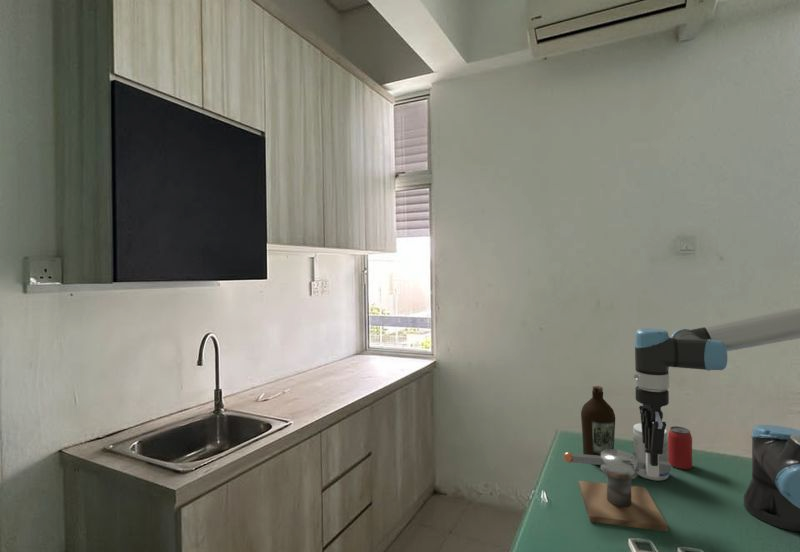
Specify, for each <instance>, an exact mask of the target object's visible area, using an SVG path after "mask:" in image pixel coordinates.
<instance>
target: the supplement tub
mask: <svg viewBox="0 0 800 552" xmlns="http://www.w3.org/2000/svg"><path fill="white" fill-rule="evenodd" d="M642 440H643V439H642V426H641V422H640V423H636V424H633V429H632V446H633V447H632V448H633V452H632V453H633V455H634V456H635V457H636V458H637V459H643V460H646V452H645V449H646V448H645V443H643V441H642ZM659 461H665V462H669V459H668V430H667V429H666V428H665V432H664V442H663V453H662V454H659ZM637 469H638V468H637ZM637 476H640V477H642V478H644V479H646V480H651V481H664V480H667V479H668V478H669V476H670V471H659V477H651V476H647V474H646V469H638V475H637Z"/></svg>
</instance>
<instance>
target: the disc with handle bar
mask: <svg viewBox="0 0 800 552" xmlns="http://www.w3.org/2000/svg"><path fill="white" fill-rule="evenodd" d="M562 459H563V460H564V462H566V463H568V464H571V463H576V464H586V465H595V466H597V465H598V466H600V470H601V471H602V472H603V473H604V474H606V476H607V475H609V476H612V477H615V478H619V479H631V480H633V479H636V478H637V477H638V476H639V475H638V469H646V460H643V459H637V458H636V457H635V456H634V454H632V453H630V452H627V451H625V450H622V449H621V450H620V449H615V448H614V449H608V450H604V451H602V452H601V456H598V455H586V454H583V453H574V452H573V453H572V452H568V451H566V452H564V453H563V456H562ZM637 468H638V469H637ZM659 471H669V473H670V472H672V465H671V464H670V463H669V462H665V461H659Z"/></svg>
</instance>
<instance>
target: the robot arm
mask: <svg viewBox="0 0 800 552" xmlns="http://www.w3.org/2000/svg"><path fill="white" fill-rule="evenodd" d="M798 339H800V306H799V307H793V308H789V309H784V310H780V311H779V310H778V311H775V312H769V313H766V314H761V315H755V316H751V317H746V318H742V319H741V318H740V319H737V320H732V321H731V320H730V321H727V322H723V323H717V324H713V325H707V326H703V327H698V328H693V329H689V328H688V329H687V328H681V329H677V330H676V331H674V332H673V333H672V334H671V335H669V332H668V331H667V330H665V329H662V328H650V327H648V328H640V329H637V331H636V332H635V342H634V356H635V357H634V363H635V374H632V375H633V378H634V379H635V385H636V386H635V400H636V402H637V403H640V404H642V405H639V407H638V409H639V414H640V423H641V426H642V439H643V440H642V441H643V443H645V448H646V449H645V452H646V474H647V476H651V477H659V454H662V453H663V442H664V432H665V429H666V427H667V423H666V421H663V419H664V414H663V411H662V409H661V408H662V407H666V406H668V405H669V403H670V401H669V399H670V398H669V396H670V395H669V394H670V393H669V392H670V391H669V390H668V389H669V388H670V376H669V375H670V373H669V368H682V369H692V370H694V369H695V370H704V371H724V370H725V369H726V367H727V364H728V352H731V351H732V352H733V351H736V350H737V351H738V350H742V349H748V348H753V347H758V346H764V345H770V344H776V343H780V342H787V341H792V340H798ZM751 433H752V434H751V470H752V471H751V480H750V482H749V484H748V486H747V489H746V490H745V493H744V496H743V506H744V508H745V509H746V511H747V512H748V513H749V514H751V515H753V516H754V517H755V518H757V519H759V520H760V521H762V522H764V523H766V524H769V525H771V526H774V527H777V528H779V529H783V530H788V531H792V532H796V531H799V532H798V533H800V429H796V428H792V427H787V426H782V425H774V424H773V425H772V424H758V425H754V427H753V428H752V432H751Z"/></svg>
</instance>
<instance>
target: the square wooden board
mask: <svg viewBox="0 0 800 552" xmlns="http://www.w3.org/2000/svg"><path fill="white" fill-rule="evenodd" d="M578 487H579V490H580V493H581V497H582V501H583V504H584V507H585V510H586V513H587V516H588V519H589V523H597V524H607V525H612V526H621V527H629V528H630V527H631V528H637V529H645V530H653V531H661V532H669V531H668V530H669V528H668V527H669V525H668V524H667V522H666V521H665V518H664V517H663V515H662V514H661V511H659V508H658V507H657V505H656V504H655V501H654V500H653V498H652V497H651V495H650V493H649V492H648V489H646V487H645V486H634V485H632V479H619V478H615V477H612V476H609V475H607V474H606V483H605V482H595V481H588V480H587V481H586V480H578Z"/></svg>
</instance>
